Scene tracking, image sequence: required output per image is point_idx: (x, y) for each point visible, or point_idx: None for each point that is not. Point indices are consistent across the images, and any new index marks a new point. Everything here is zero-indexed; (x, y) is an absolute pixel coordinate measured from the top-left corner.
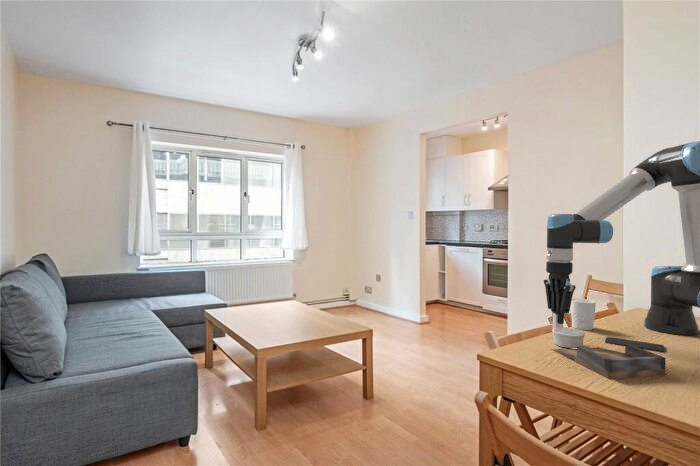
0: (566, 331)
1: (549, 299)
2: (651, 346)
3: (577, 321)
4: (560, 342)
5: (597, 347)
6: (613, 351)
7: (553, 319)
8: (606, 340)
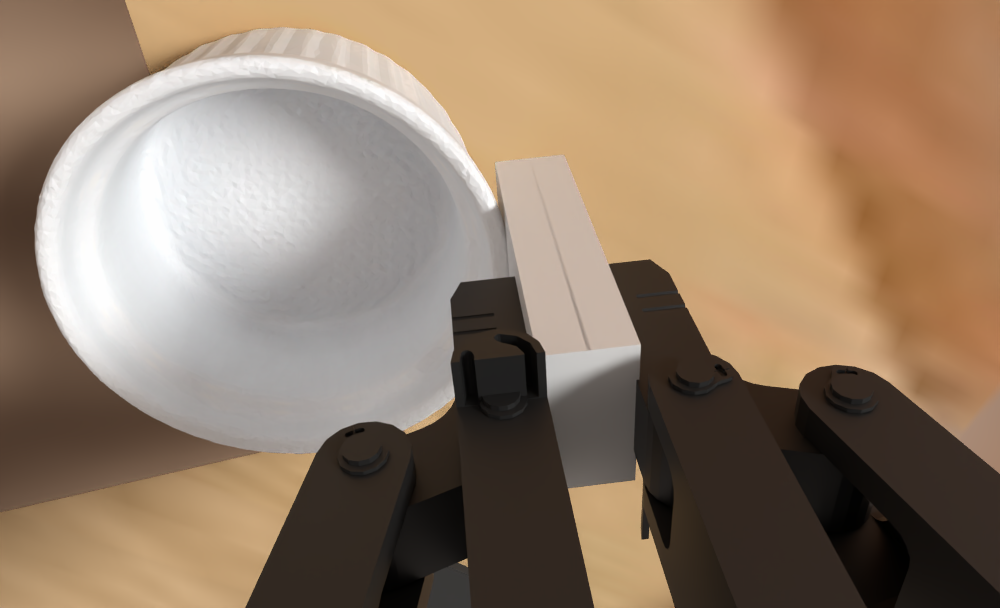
0: None
1: (965, 575)
2: None
3: None
4: (176, 61)
5: None
6: (3, 481)
7: (584, 266)
8: (458, 580)
